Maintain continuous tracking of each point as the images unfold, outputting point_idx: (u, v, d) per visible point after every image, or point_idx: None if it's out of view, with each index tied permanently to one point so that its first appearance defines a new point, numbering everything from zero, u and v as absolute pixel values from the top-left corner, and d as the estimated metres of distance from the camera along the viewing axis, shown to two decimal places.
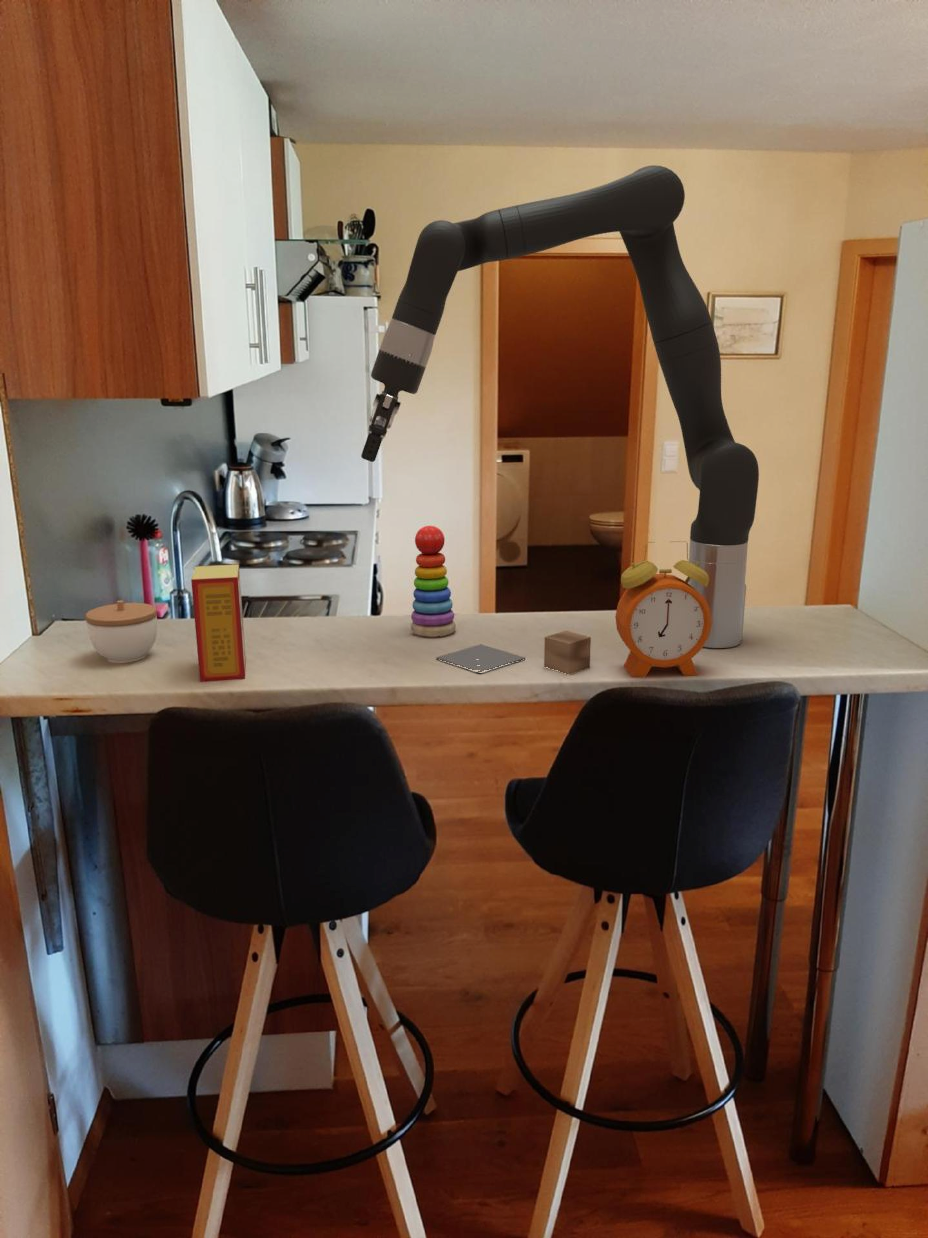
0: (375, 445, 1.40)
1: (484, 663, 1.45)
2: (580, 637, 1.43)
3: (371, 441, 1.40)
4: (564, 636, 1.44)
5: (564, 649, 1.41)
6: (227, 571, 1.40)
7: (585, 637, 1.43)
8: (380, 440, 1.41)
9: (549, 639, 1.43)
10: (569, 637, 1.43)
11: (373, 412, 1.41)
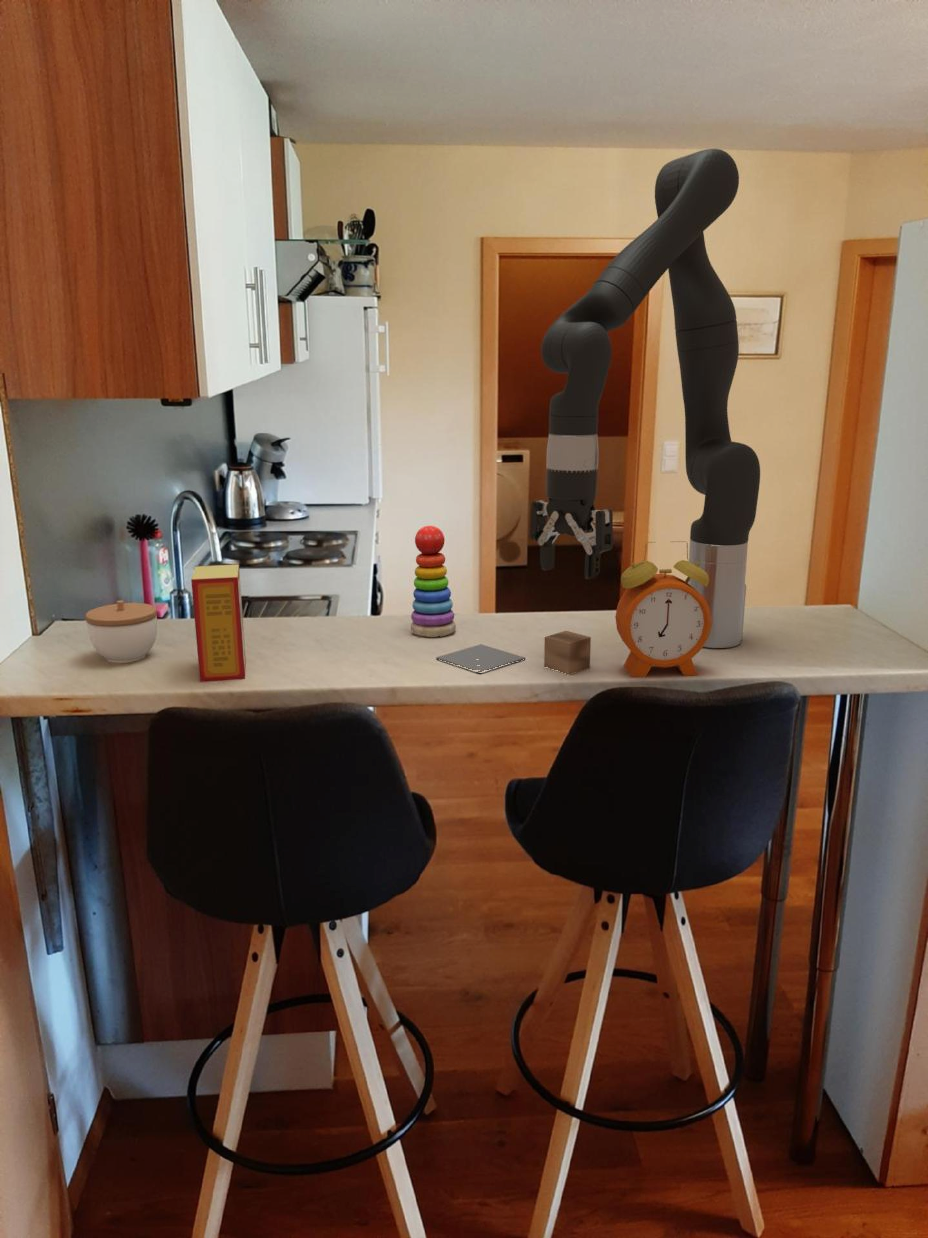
0: (599, 562, 1.37)
1: (484, 663, 1.45)
2: (580, 637, 1.43)
3: (595, 560, 1.36)
4: (564, 636, 1.44)
5: (564, 649, 1.41)
6: (227, 571, 1.40)
7: (585, 637, 1.43)
8: None
9: (549, 639, 1.43)
10: (569, 637, 1.43)
11: (582, 532, 1.35)
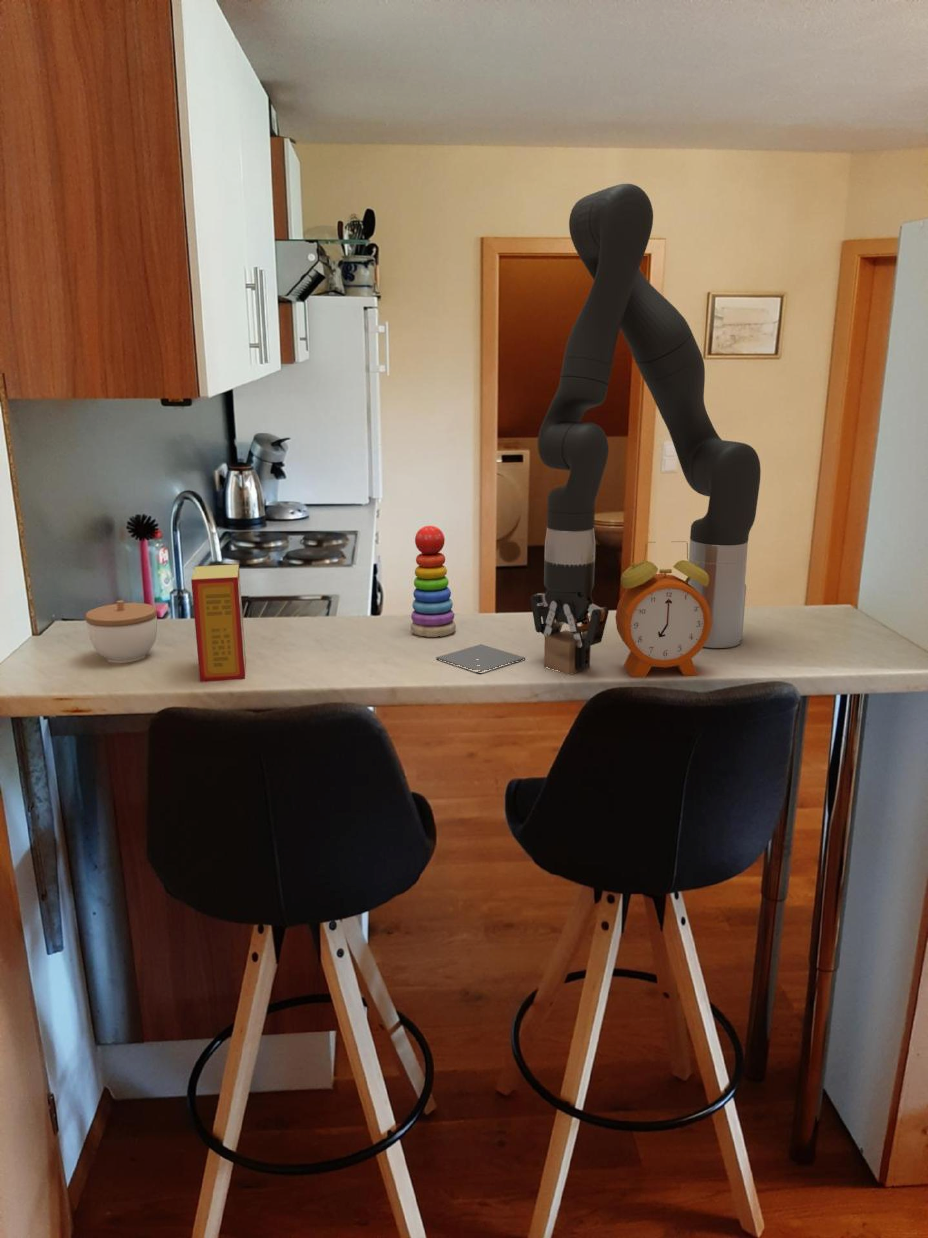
0: (588, 654, 1.42)
1: (484, 663, 1.45)
2: None
3: (585, 652, 1.41)
4: (564, 636, 1.43)
5: (564, 649, 1.41)
6: (227, 571, 1.40)
7: None
8: None
9: (549, 639, 1.43)
10: (569, 636, 1.43)
11: (576, 626, 1.40)
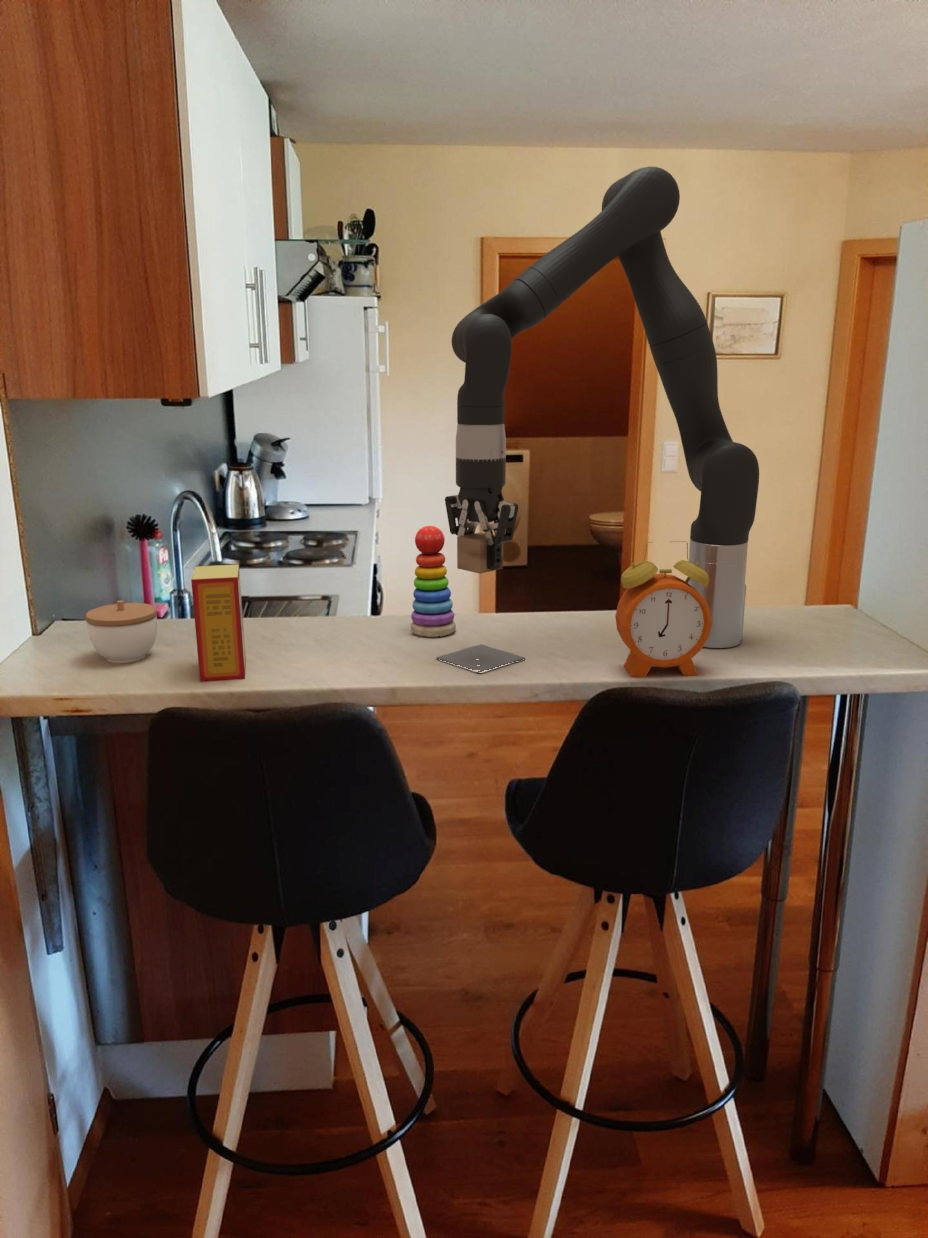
0: (500, 552, 1.41)
1: (484, 663, 1.45)
2: None
3: (496, 551, 1.41)
4: (477, 536, 1.43)
5: (475, 547, 1.41)
6: (227, 571, 1.40)
7: None
8: None
9: (461, 538, 1.42)
10: (481, 536, 1.43)
11: (486, 523, 1.39)
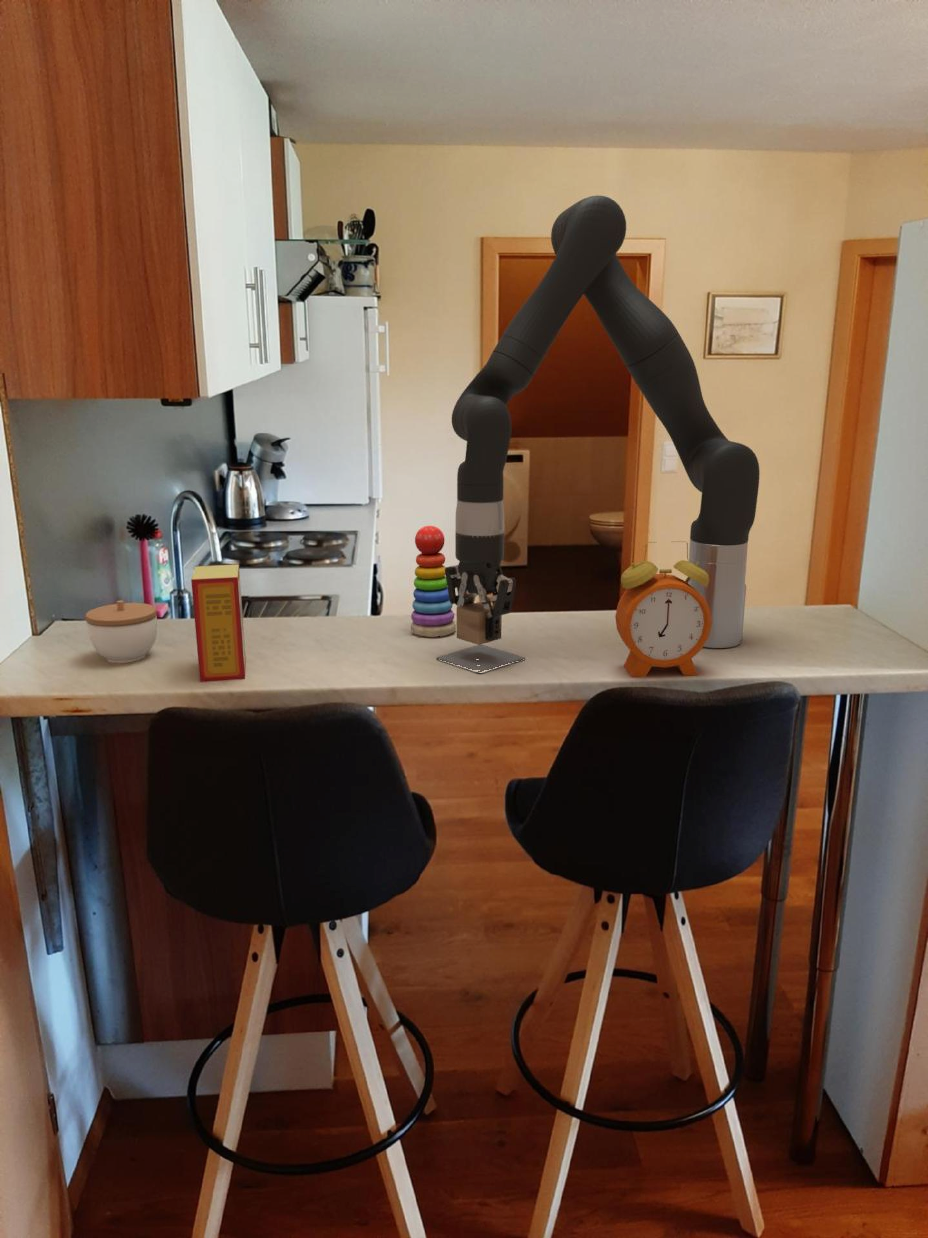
0: (498, 624, 1.44)
1: (484, 663, 1.45)
2: (492, 607, 1.46)
3: (494, 623, 1.44)
4: (476, 607, 1.46)
5: (474, 619, 1.44)
6: (227, 571, 1.40)
7: None
8: None
9: (460, 609, 1.46)
10: (480, 607, 1.46)
11: (485, 596, 1.43)
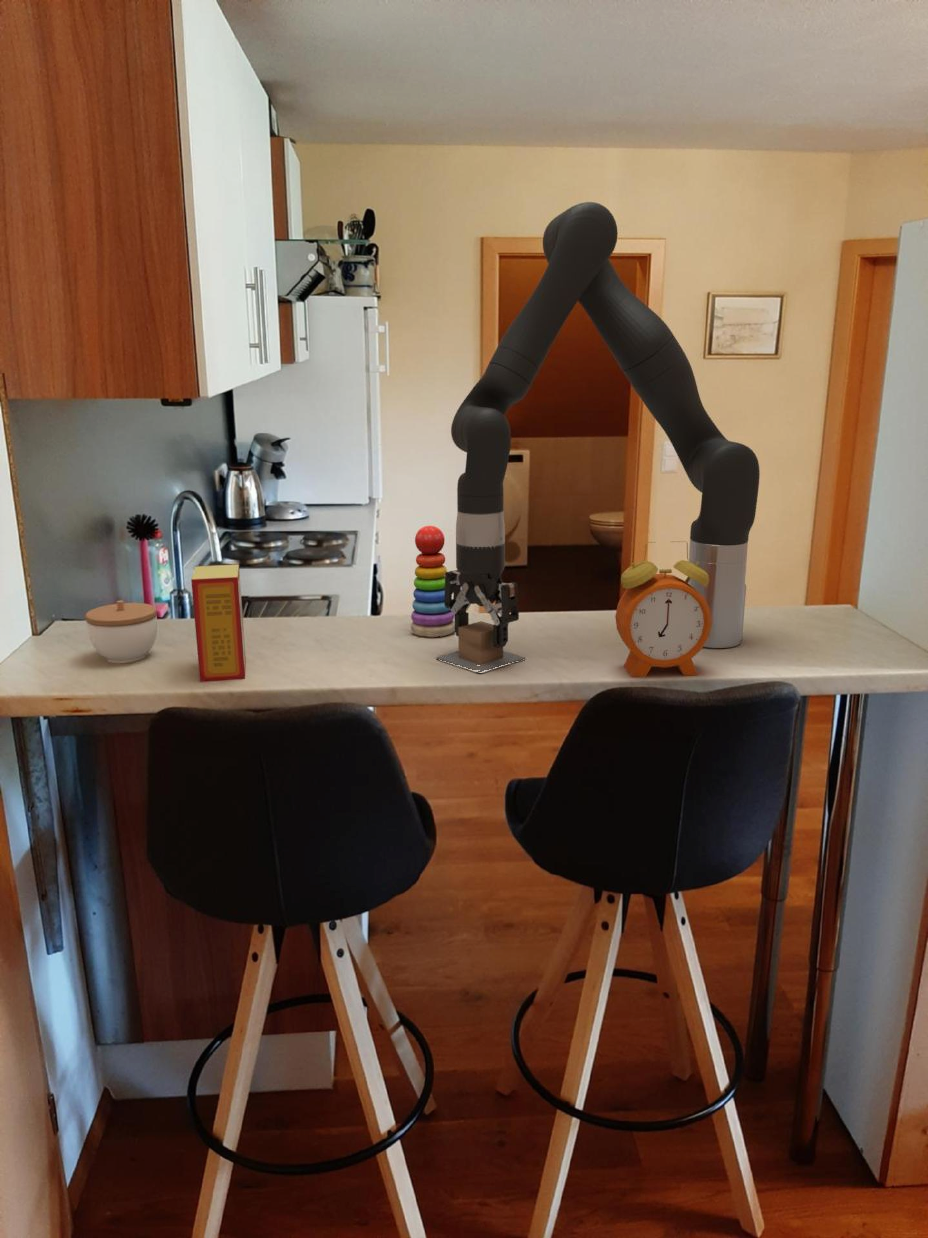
0: (506, 631, 1.44)
1: (484, 663, 1.45)
2: None
3: (503, 630, 1.43)
4: (477, 627, 1.47)
5: (476, 639, 1.45)
6: (227, 571, 1.40)
7: None
8: None
9: (462, 629, 1.46)
10: (482, 627, 1.47)
11: (489, 604, 1.42)
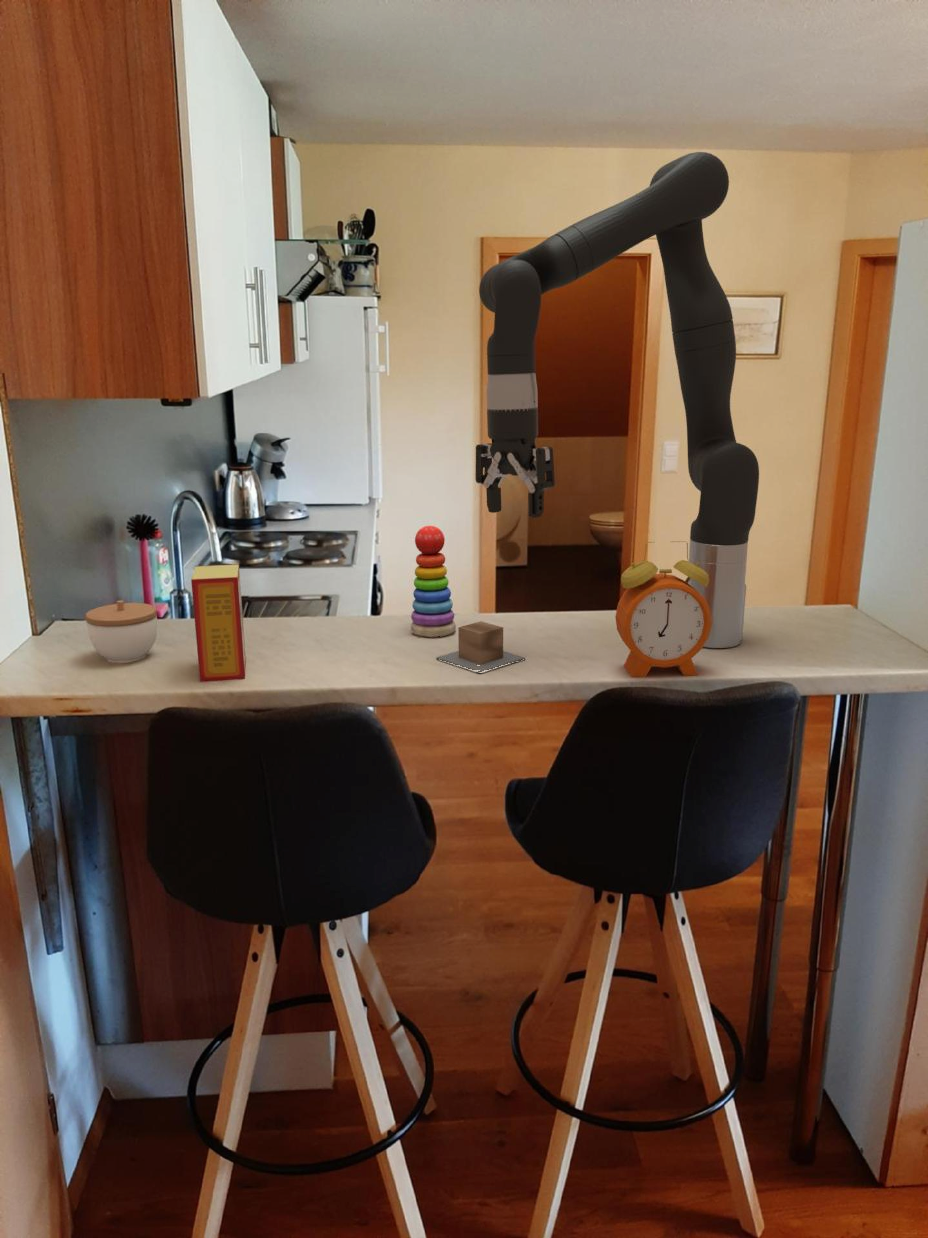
0: (542, 500, 1.38)
1: (484, 663, 1.45)
2: (493, 627, 1.47)
3: (538, 498, 1.38)
4: (477, 627, 1.47)
5: (476, 639, 1.45)
6: (227, 571, 1.40)
7: (498, 627, 1.47)
8: None
9: (462, 629, 1.46)
10: (482, 627, 1.47)
11: (524, 471, 1.37)
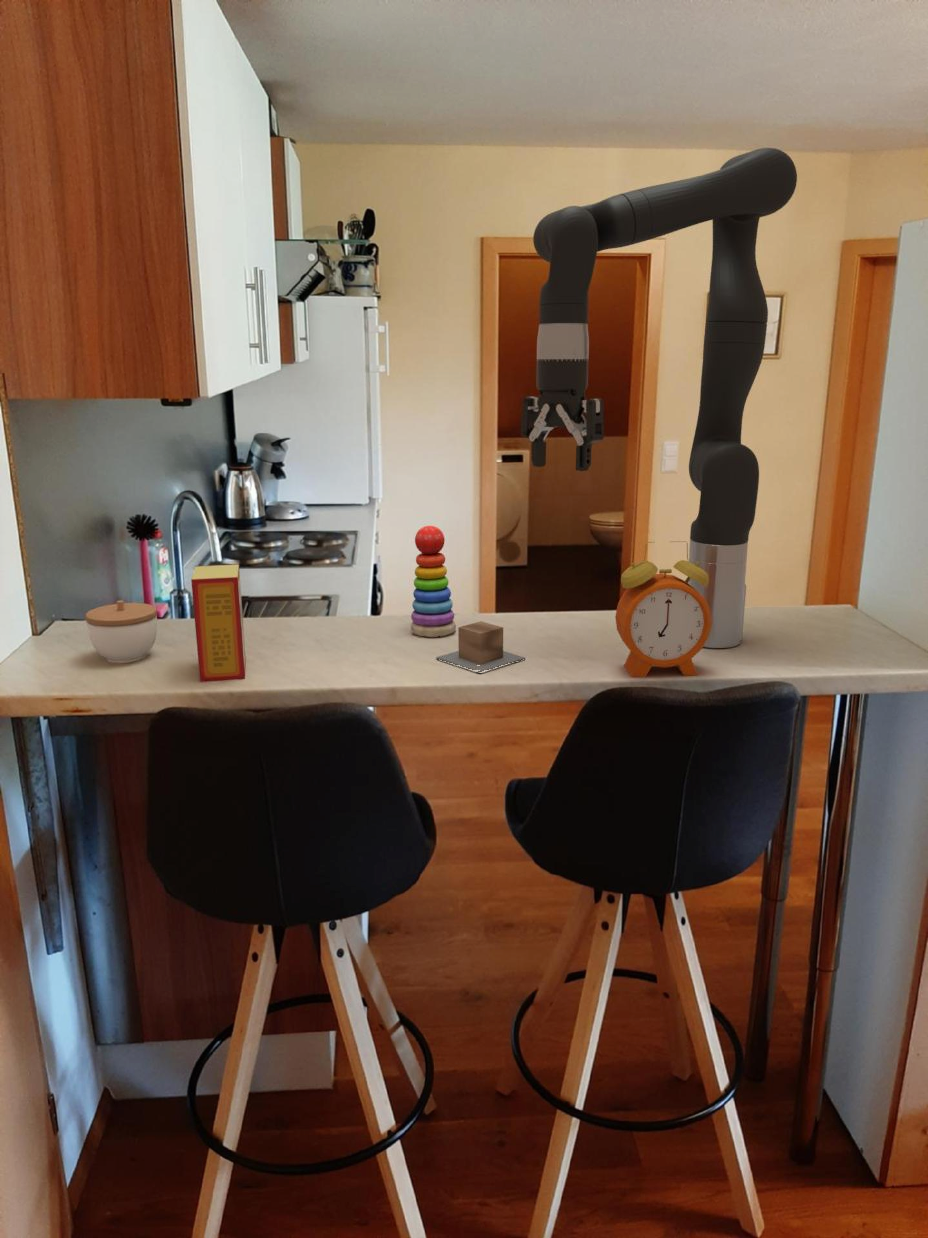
0: (590, 453, 1.37)
1: (484, 663, 1.45)
2: (493, 627, 1.47)
3: (586, 451, 1.36)
4: (477, 627, 1.47)
5: (476, 639, 1.45)
6: (227, 571, 1.40)
7: (498, 627, 1.47)
8: None
9: (462, 629, 1.46)
10: (482, 627, 1.47)
11: (573, 423, 1.35)
